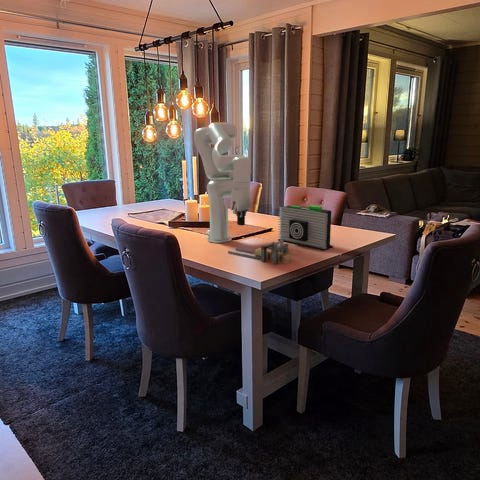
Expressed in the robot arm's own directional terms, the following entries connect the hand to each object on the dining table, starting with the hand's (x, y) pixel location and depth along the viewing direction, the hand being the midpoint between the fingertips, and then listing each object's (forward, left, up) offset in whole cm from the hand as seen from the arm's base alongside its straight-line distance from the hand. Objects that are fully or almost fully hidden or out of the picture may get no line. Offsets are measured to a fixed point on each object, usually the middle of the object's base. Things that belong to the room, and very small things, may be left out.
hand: (240, 224), depth 185 cm
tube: (+18, 0, -14) cm, 22 cm away
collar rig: (+19, -1, -14) cm, 23 cm away
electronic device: (+16, +30, -14) cm, 37 cm away
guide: (+5, -1, -14) cm, 14 cm away
